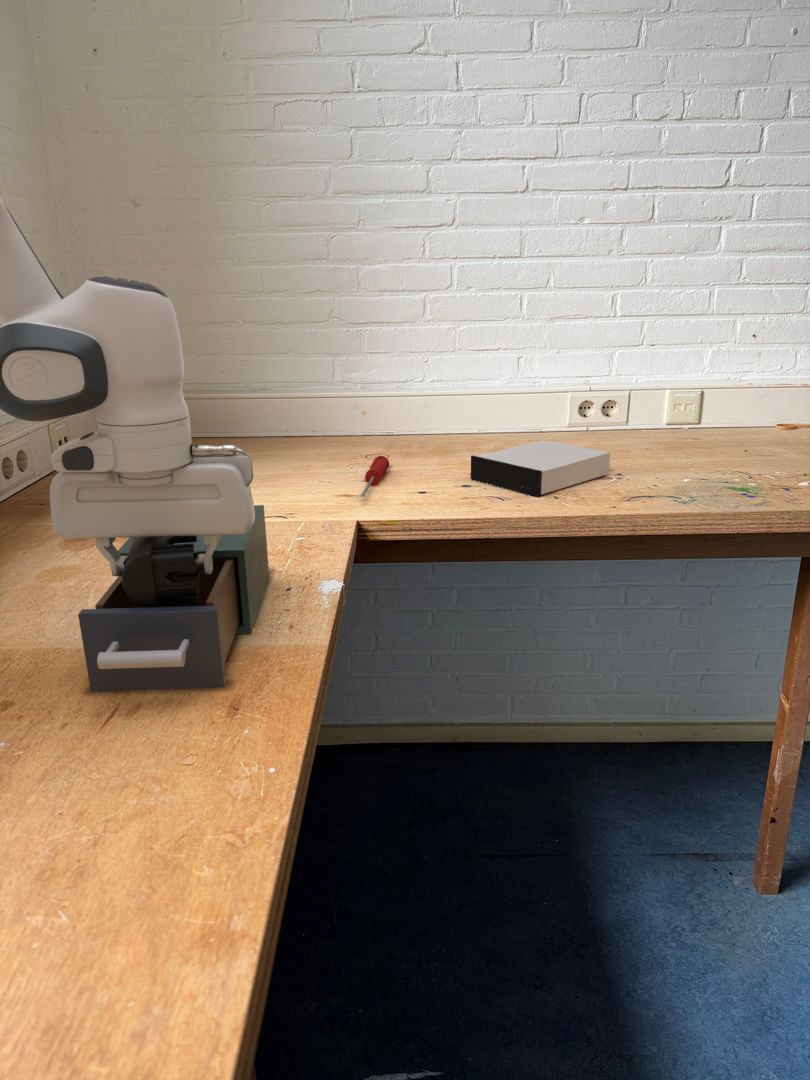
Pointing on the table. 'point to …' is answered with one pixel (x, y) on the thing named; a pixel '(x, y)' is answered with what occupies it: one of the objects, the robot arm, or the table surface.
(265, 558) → the cabinet
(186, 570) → the end cap
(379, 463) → the screwdriver
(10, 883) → the table surface
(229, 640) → the drawer
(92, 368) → the robot arm
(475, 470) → the disc drive
